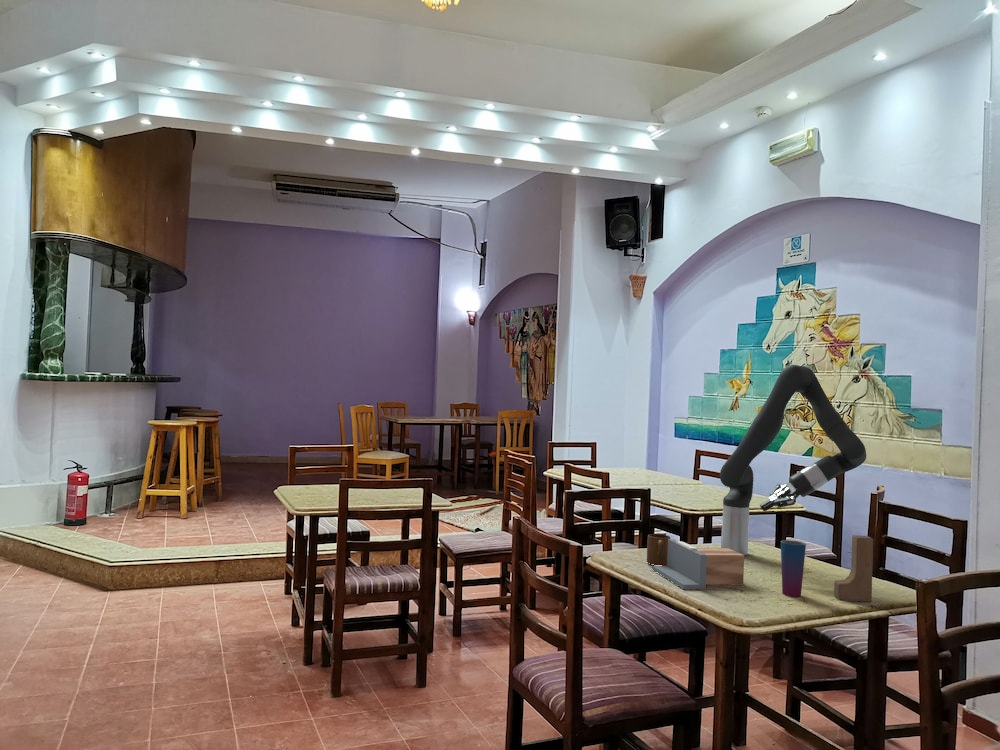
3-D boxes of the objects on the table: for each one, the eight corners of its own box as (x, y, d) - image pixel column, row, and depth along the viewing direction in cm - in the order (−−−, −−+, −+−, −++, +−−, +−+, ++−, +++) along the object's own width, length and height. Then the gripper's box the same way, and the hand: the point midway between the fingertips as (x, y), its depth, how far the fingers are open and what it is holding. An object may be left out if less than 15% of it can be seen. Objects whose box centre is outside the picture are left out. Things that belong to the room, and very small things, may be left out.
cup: (806, 594, 210) (808, 542, 211) (801, 599, 205) (803, 545, 205) (782, 590, 214) (783, 539, 215) (776, 594, 209) (778, 542, 209)
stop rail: (652, 570, 232) (653, 537, 232) (672, 570, 233) (673, 537, 233) (683, 589, 209) (684, 552, 210) (705, 589, 210) (706, 553, 211)
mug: (672, 570, 233) (673, 541, 233) (648, 569, 234) (649, 539, 234) (668, 562, 245) (669, 534, 245) (645, 560, 246) (646, 533, 246)
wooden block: (838, 599, 206) (840, 536, 206) (833, 595, 210) (835, 533, 211) (871, 602, 205) (873, 538, 205) (866, 598, 209) (868, 535, 210)
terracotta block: (682, 576, 226) (683, 547, 226) (727, 576, 229) (728, 548, 229) (696, 585, 216) (698, 554, 216) (743, 585, 219) (744, 555, 219)
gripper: (795, 463, 240) (749, 491, 243) (810, 478, 227) (762, 507, 230) (806, 481, 241) (761, 509, 244) (822, 496, 228) (774, 525, 231)
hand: (761, 508), depth 237 cm, fingers closed
